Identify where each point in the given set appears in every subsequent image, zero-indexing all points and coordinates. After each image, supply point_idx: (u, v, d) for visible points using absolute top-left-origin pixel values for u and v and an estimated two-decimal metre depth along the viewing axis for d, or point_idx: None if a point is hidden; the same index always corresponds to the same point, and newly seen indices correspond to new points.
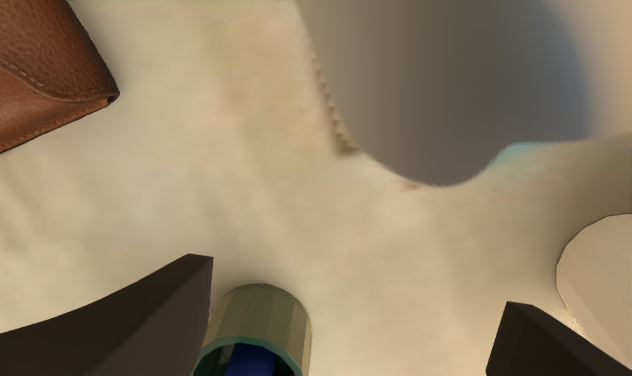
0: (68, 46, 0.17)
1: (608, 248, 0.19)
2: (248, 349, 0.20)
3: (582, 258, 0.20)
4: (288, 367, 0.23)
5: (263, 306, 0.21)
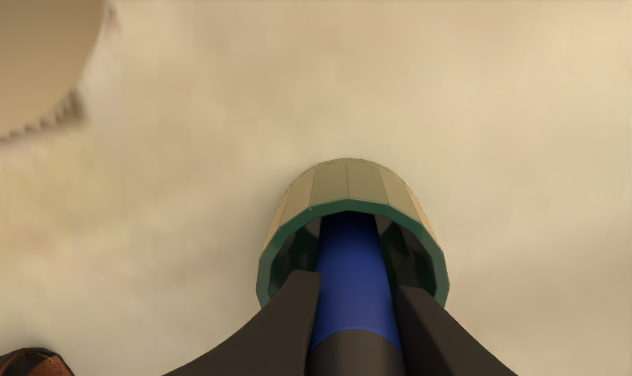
0: None
1: None
2: None
3: None
4: None
5: None
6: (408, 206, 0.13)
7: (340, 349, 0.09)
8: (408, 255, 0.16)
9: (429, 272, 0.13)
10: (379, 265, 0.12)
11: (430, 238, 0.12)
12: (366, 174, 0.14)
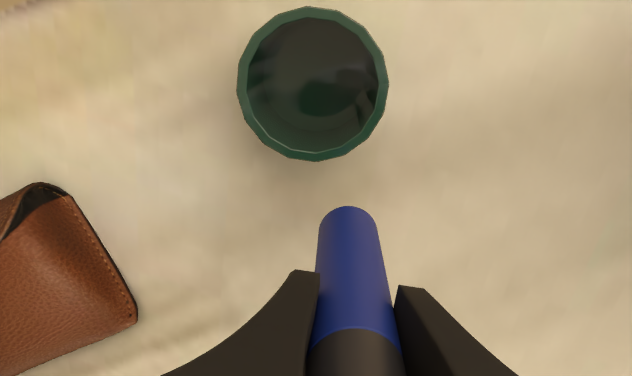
0: None
1: None
2: None
3: None
4: (358, 42, 0.19)
5: None
6: None
7: (340, 348, 0.09)
8: (366, 97, 0.20)
9: (376, 83, 0.17)
10: (378, 264, 0.12)
11: (371, 40, 0.15)
12: None
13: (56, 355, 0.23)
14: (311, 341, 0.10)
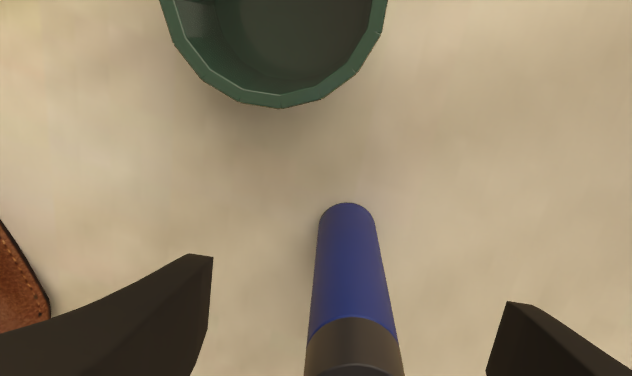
0: None
1: None
2: None
3: None
4: None
5: None
6: None
7: (338, 335, 0.09)
8: (358, 32, 0.14)
9: None
10: (376, 258, 0.13)
11: None
12: None
13: None
14: (311, 330, 0.10)
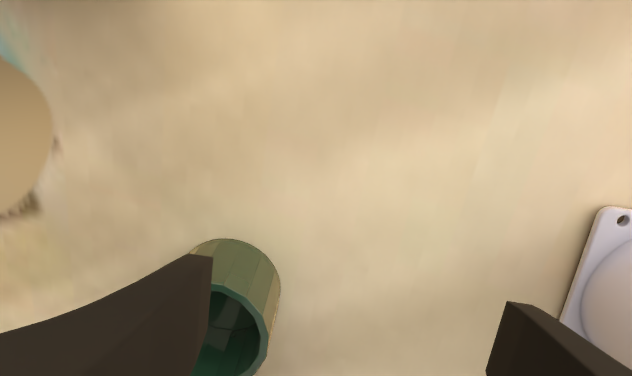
0: None
1: None
2: None
3: None
4: None
5: None
6: (244, 283, 0.19)
7: None
8: None
9: None
10: None
11: (252, 306, 0.19)
12: (226, 256, 0.21)
13: None
14: None
